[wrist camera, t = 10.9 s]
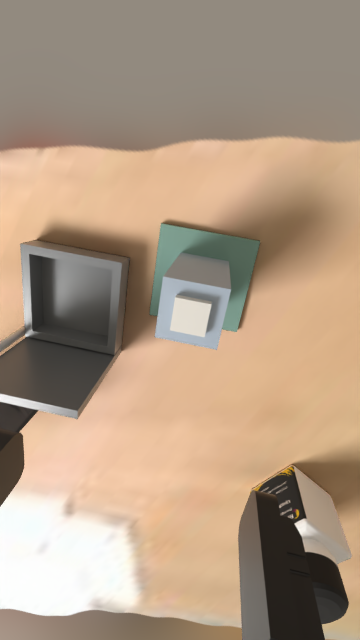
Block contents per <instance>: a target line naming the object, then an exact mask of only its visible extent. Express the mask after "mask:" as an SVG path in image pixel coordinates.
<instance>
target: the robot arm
mask: <svg viewBox="0 0 360 640" xmlns="http://www.w3.org/2000/svg"><path fill="white" fill-rule="evenodd" d="M23 469H24V448H23V435H22V434H21V433H19V432H15V431H10V430H6V429H2V428H0V506H1V505H2V504H3V502H4V501H5V499H6V498H7V497H8V495H9V494H10V492H11V491H12V490H13V488H14V487H15V485H16V484H17V483H18V481H19V479H20V477H21V475H22V472H23ZM238 542H239V567H240V593H241V618H242V640H325V638H324V633H323V629H322V625H321V620H320V616H319V611H318V607H317V602H316V598H315V593H314V589H313V585H312V580H311V578H310V571H309V567H308V562H307V561H306V553H305V549H304V545H303V540H302V536H301V535H300V533H299V531H298V529H297V527H296V526H295V524H294V522H293V520H292V518H289V517H285V516H281V515H280V510H279V504H278V499H277V497H276V495H273V494H269V493H265V492H261V491H256V490H252V491H251V493H250V496H249V498H248V501H247V504H246V506H245V509H244V512H243V514H242V517H241V520H240V525H239V535H238Z"/></svg>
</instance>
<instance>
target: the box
mask: <svg viewBox="0 0 360 640" xmlns="http://www.w3.org/2000/svg"><path fill="white" fill-rule="evenodd" d="M37 411H38V410H35V409H31V408H26V407H22V406H17V405H13V404H8V403H4V402H0V428H2V429H6V430H10V431H15V432H20V430H21V429H22V428H23V427H24V426H25V425H26V424H27V423H28V421H29V420H30V419H31V418H32V417H33V416H34V415H35V414H36V412H37Z"/></svg>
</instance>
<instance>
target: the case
mask: <svg viewBox="0 0 360 640" xmlns="http://www.w3.org/2000/svg"><path fill="white" fill-rule="evenodd" d="M20 245H21V265H22V284H23V303H24V322H25V326H23V327H21V328H20V329H18V330H17V331H15V332H14V333H12V334H11V335H9V336H8V337H6V338H5V339H3V340H2V341H0V352H1V351H2V350H4V349H5V348H7V347H8V346H10V345H11V344H12V343H14V342H15V341H17V340H18V339H19V338H21V337H22V336H24V335H25V336H26V338H25V339H23V340H22V341H20V342H19V343H18V344H16V345H15V346H14V347H12V348H11V349H9V350H8V351H7V352H5V353H4V354H3V355H1V356H0V402H4V403H8V404H13V405H17V406H22V407H26V408H31V409H35V410H39V411H44V412H48V413H53V414H57V415H62V416H66V417H71V418H75V419H78V417H79V416H80V414H81V413H82V411H83V410H84V408H85V407H86V405H87V404H88V402H89V401H90V399H91V397H92V396H93V394H94V393H95V391H96V390H97V388H98V387H99V385H100V384H101V382H102V381H103V379H104V377H105V376H106V374H107V373H108V371H109V370H110V368H111V367H112V365H113V364H114V362H115V361H116V359H117V357H118V356H119V354H120V353H121V349H122V338H123V327H124V316H125V305H126V294H127V283H128V273H129V262H130V258H129V257H124V256H119V255H114V254H108V253H103V252H98V251H92V250H87V249H82V248H77V247H71V246H66V245H61V244H55V243H50V242H45V241H39V240H33V241H29V242H25V243H21V244H20Z"/></svg>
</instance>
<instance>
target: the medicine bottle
mask: <svg viewBox="0 0 360 640" xmlns="http://www.w3.org/2000/svg"><path fill="white" fill-rule="evenodd" d="M252 490H256V491H261V492H265V493H269V494H273V495H276V497H277V499H278V504H279V510H280V515H281V516H285V517H289V518H292V520H293V522H294V524H295V526H296V527H297V529H298V531H299V533H300V535H301V536H302V540H303V545H304V549H305V553H306V561H307V562H308V567H309V571H310V578H311V580H312V585H313V589H314V593H315V598H316V602H317V607H318V611H319V616H320V620H321V624H326V623H330V622H333V621H336V620H338V619H340V618H341V617H342V616H344V614H345V613H346V611H347V608H348V605H349V602H348V598H347V595H346V592H345V589H344V585H343V582H342V579H341V575H340V572H339V569H338V566H337V564H339V563H341V562H343V561H346V560H348V559H350V558H351V557H352V554H351V551H350V548H349V545H348V543H347V540H346V537H345V534H344V531H343V528H342V526H341V523H340V520H339V517H338V514H337V512H336V509H335V506H334V503H333V500H332V497H331V496H330V495H329V494H328V493H327V492H325V491H324V490H323V489H322V488H321V487H319V486H318V485H317V484H316V483H315V482H313V481H312V480H311V479H310V478H308V477H307V476H306V475H305V474H304V473H302V472H301V471H300V470H299V469H297V468H296V467H295V466H294V465H290V466H289V467H287V468H285V469H284V470H282V471H281V472H279V473H277V474H276V475H274V476H273V477H271V478H269V479H268V480H266V481H265V482H263V483H261V484H260V485H258V486H257V487H255V488H253V489H252ZM252 490H251V491H252ZM251 491H250V493H251Z"/></svg>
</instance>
